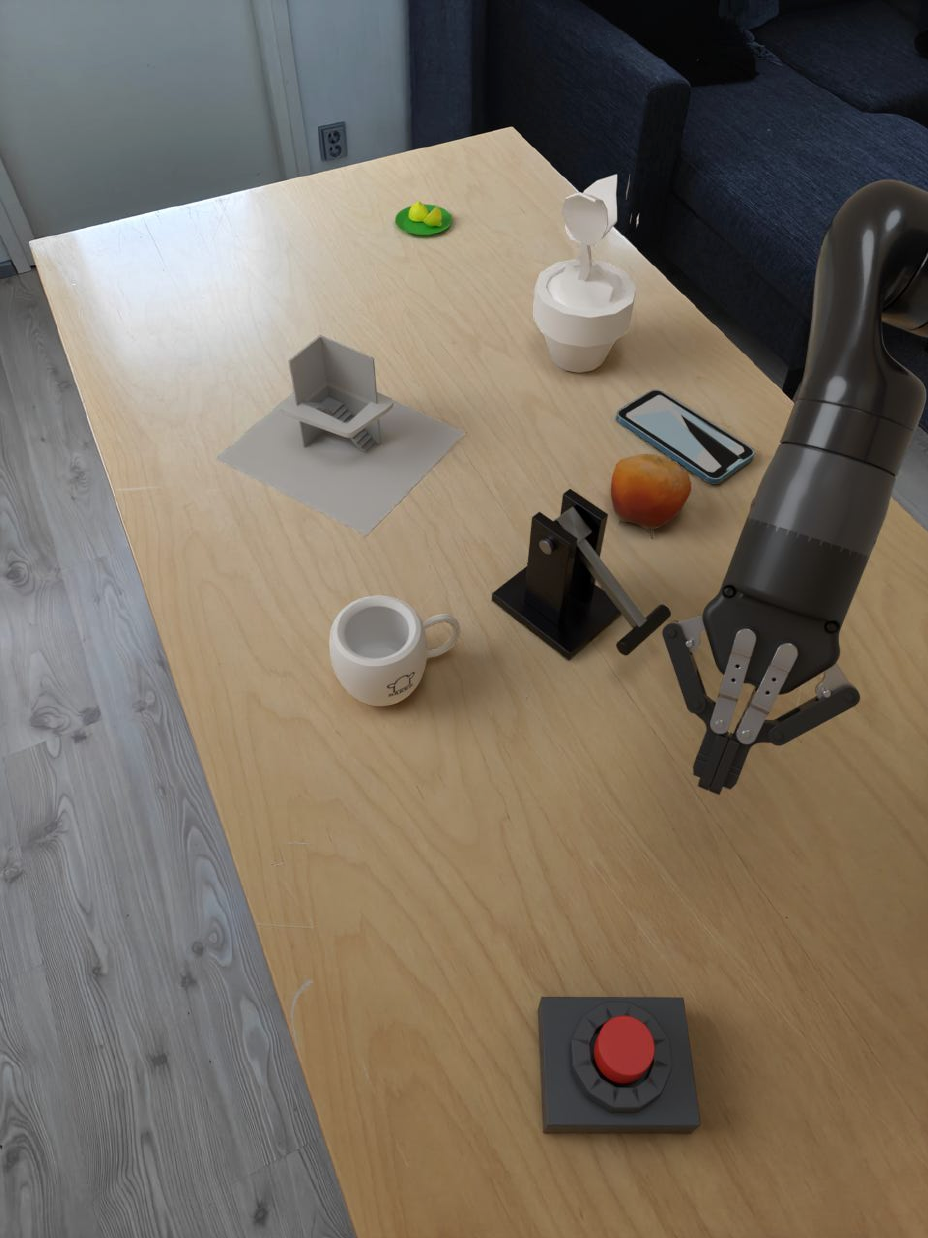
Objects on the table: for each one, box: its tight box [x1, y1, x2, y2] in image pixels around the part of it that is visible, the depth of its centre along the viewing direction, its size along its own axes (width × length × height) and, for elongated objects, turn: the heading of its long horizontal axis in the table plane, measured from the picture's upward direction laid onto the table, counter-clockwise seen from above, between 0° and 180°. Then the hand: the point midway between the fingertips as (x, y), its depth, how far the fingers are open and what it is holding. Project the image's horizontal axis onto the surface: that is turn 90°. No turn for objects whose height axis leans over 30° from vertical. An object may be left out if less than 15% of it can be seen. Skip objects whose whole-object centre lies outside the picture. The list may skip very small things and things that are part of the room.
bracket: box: [491, 488, 622, 661], centre depth 84 cm, size 10×8×13 cm
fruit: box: [610, 453, 692, 540], centre depth 95 cm, size 8×8×8 cm
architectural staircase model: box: [214, 334, 467, 537], centre depth 99 cm, size 19×21×12 cm
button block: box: [537, 996, 702, 1135], centre depth 63 cm, size 10×8×5 cm
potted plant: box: [532, 173, 640, 374], centre depth 103 cm, size 13×12×25 cm
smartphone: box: [615, 388, 756, 485], centre depth 104 cm, size 7×1×15 cm
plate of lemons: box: [394, 200, 453, 236], centre depth 130 cm, size 8×8×3 cm
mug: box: [328, 594, 461, 707], centre depth 82 cm, size 12×8×8 cm
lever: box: [553, 507, 672, 657], centre depth 81 cm, size 13×6×2 cm, turn 45°
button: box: [594, 1016, 655, 1084], centre depth 60 cm, size 4×4×3 cm
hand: (709, 788), depth 60 cm, fingers closed
